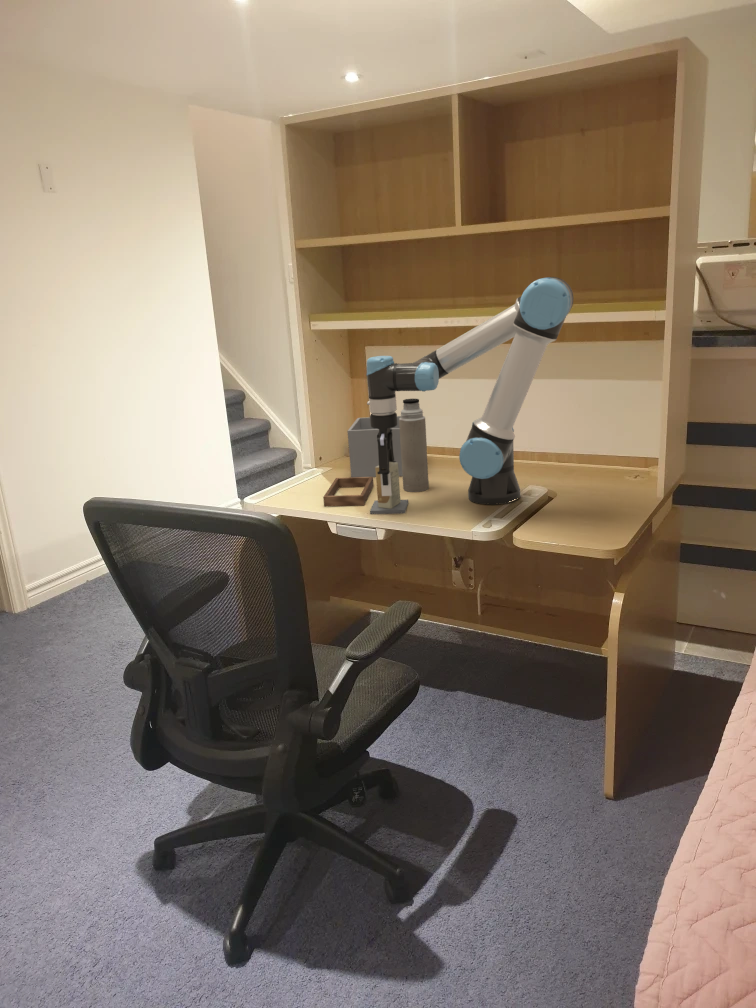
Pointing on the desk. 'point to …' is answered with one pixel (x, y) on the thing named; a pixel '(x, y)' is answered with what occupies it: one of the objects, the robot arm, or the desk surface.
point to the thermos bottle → (413, 447)
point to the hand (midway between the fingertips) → (388, 491)
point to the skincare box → (395, 488)
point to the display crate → (369, 448)
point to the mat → (395, 510)
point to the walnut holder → (348, 499)
